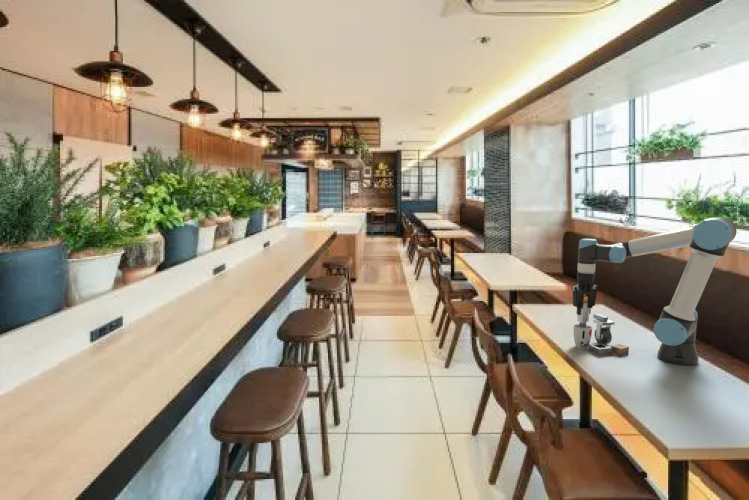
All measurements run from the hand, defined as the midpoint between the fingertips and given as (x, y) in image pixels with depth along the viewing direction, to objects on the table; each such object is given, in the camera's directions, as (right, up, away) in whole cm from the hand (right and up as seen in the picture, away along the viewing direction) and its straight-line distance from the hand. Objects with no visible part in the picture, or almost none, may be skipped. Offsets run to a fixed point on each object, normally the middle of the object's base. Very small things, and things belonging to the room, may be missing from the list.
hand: (583, 321), depth 222 cm
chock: (+14, -14, -7) cm, 20 cm away
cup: (0, -13, +2) cm, 13 cm away
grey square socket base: (+5, -13, -6) cm, 16 cm away
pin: (0, -3, 0) cm, 3 cm away
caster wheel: (+12, -12, +6) cm, 18 cm away
